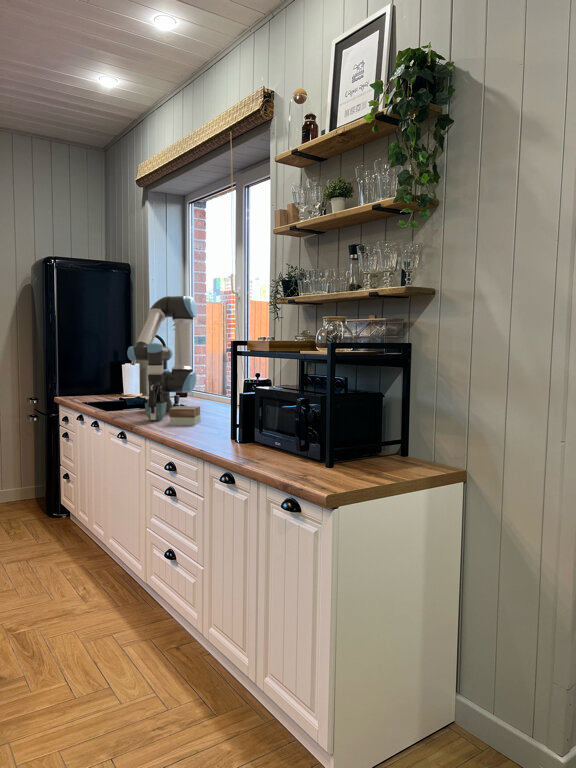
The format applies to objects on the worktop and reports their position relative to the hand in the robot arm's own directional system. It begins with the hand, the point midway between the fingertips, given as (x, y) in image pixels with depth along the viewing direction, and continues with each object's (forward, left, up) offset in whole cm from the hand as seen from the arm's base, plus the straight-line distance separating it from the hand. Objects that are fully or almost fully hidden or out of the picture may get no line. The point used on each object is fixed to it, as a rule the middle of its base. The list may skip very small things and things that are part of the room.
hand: (156, 418), depth 295 cm
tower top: (+8, +17, +3) cm, 19 cm away
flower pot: (0, 0, -1) cm, 1 cm away
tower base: (+8, +17, -1) cm, 19 cm away
